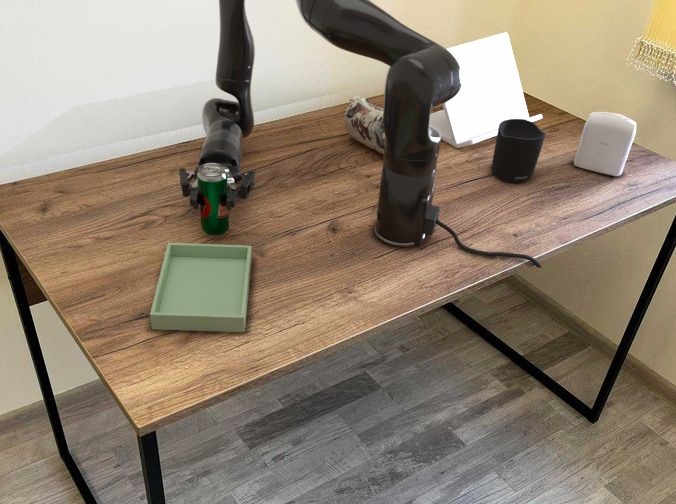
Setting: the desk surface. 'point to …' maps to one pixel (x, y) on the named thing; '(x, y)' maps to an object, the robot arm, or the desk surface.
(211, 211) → the soda can
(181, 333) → the desk surface
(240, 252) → the tray
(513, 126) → the pen holder
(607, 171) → the photo printer
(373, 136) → the pencil case
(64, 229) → the desk surface
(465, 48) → the tablet stand
